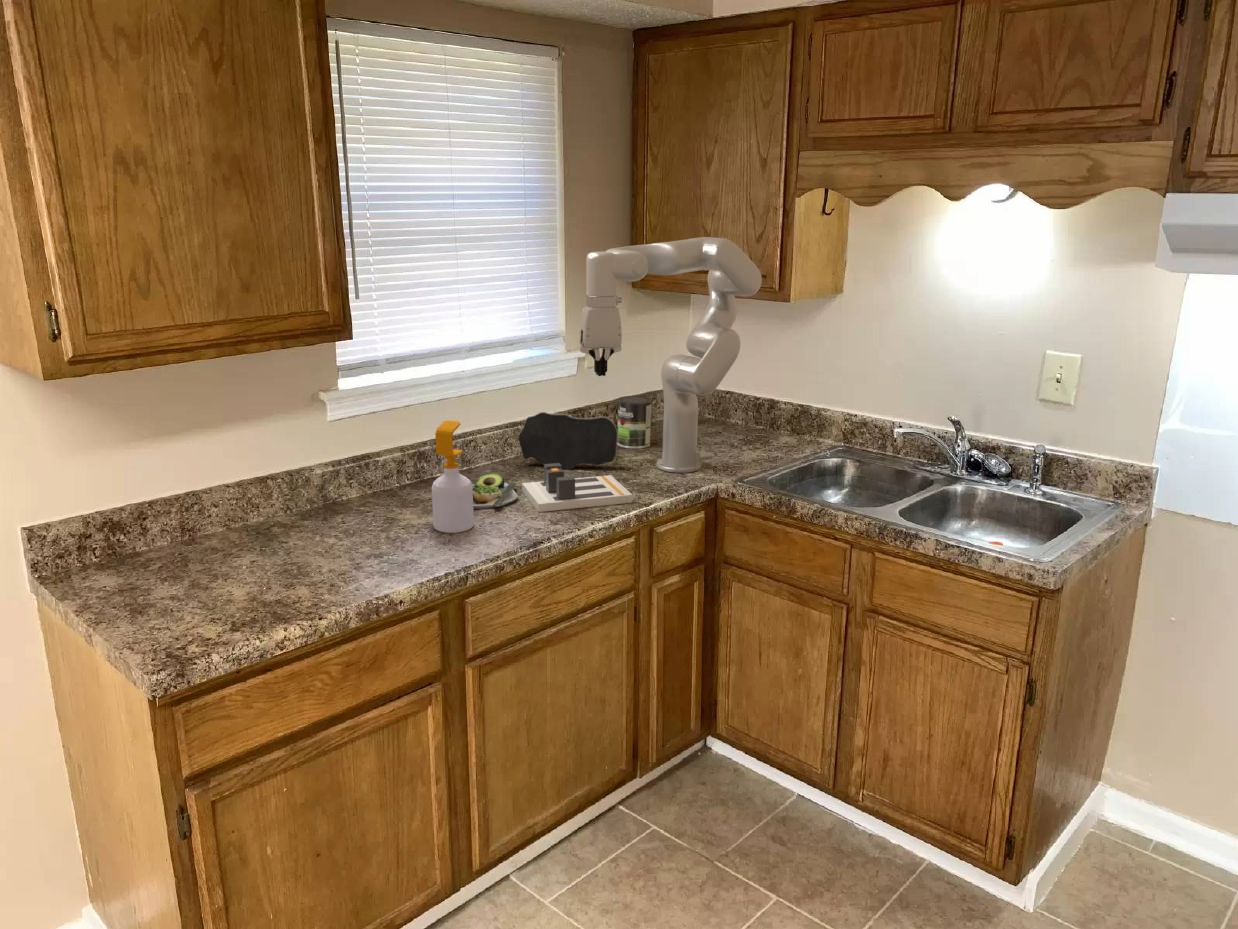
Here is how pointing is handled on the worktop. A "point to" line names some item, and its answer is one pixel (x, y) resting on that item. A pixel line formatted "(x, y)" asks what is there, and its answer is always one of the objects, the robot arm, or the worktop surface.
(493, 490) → the salad plate
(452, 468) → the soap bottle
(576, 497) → the breaker switch panel
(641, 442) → the coffee can
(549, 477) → the block
